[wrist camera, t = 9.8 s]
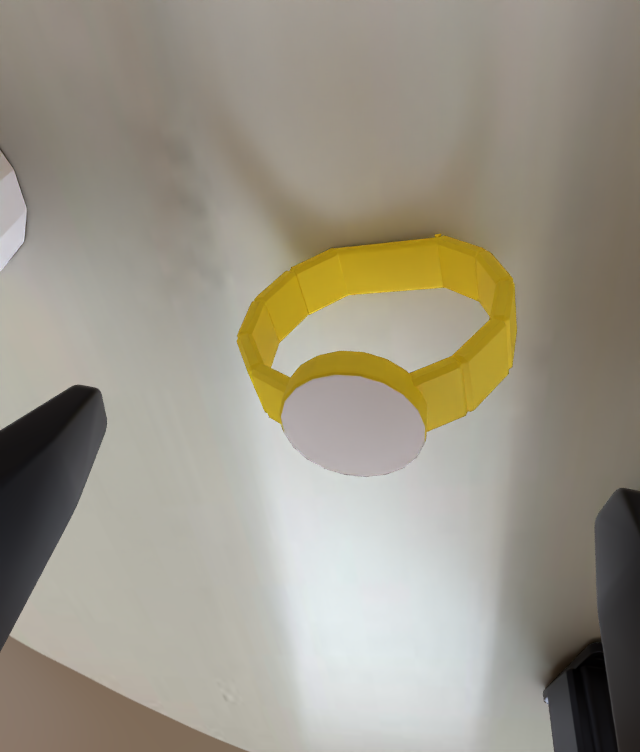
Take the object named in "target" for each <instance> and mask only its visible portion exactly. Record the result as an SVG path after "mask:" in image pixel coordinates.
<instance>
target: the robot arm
mask: <svg viewBox="0 0 640 752" xmlns="http://www.w3.org/2000/svg"><path fill="white" fill-rule="evenodd" d="M106 427H107V417H106V413H105V408H104V403H103V399H102V394H101V392H100V390H99V389H97V388H95V387H89V386H84V385H74V386H72V387H70V388H68V389H67V390H65V391H63V392H62V393H60V394H59V395H57V396H55V397H54V398H52V399H50V400H49V401H47V402H46V403H44V404H42V405H41V406H39V407H37V408H36V409H34V410H33V411H31V412H29V413H28V414H26V415H25V416H23V417H21V418H20V419H18V420H16V421H15V422H13V423H12V424H10V425H8V426H7V427H5V428H3V429H2V430H0V651H1V649H2V647H3V646H4V644H5V642H6V640H7V638H8V636H9V634H10V632H11V631H12V629H13V627H14V625H15V623H16V621H17V619H18V617H19V615H20V613H21V612H22V610H23V608H24V606H25V604H26V602H27V600H28V598H29V596H30V594H31V593H32V591H33V589H34V587H35V585H36V583H37V581H38V579H39V577H40V576H41V574H42V572H43V570H44V568H45V566H46V564H47V562H48V560H49V558H50V557H51V555H52V553H53V551H54V549H55V547H56V545H57V543H58V541H59V539H60V538H61V536H62V534H63V532H64V530H65V528H66V526H67V524H68V522H69V520H70V518H71V516H72V514H73V512H74V510H75V508H76V506H77V504H78V501H79V499H80V497H81V494H82V492H83V489H84V486H85V484H86V481H87V479H88V476H89V473H90V471H91V468H92V466H93V463H94V460H95V458H96V455H97V453H98V450H99V448H100V445H101V442H102V440H103V437H104V435H105V432H106ZM595 556H596V587H597V608H598V618H599V626H600V632H601V639H602V643H592V644H590V645H588V646H587V647H586V648H585V649H584V650H583V651H582V652H581V653H580V654H579V655H578V656H577V657H576V658H575V659H574V660H573V661H572V662H571V664H570V665H569V666H568V667H567V668H566V669H565V670H564V671H563V672H562V673H561V674H560V675H559V676H558V677H557V678H556V679H555V680H554V681H553V682H552V683H551V684H550V685H549V686H548V687H547V688H546V689H545V690H544V691H543V697H544V702H545V703H547V704H549V712H550V721H551V729H552V737H553V746H554V752H640V491H637V490H632V489H626V488H619V489H617V490H616V491H615V492H614V493H613V494H612V496H611V497H610V498H609V500H608V501H607V502H606V504H605V505H604V506H603V508H602V509H601V510H600V512H599V513H598V515H597V517H596V521H595Z"/></svg>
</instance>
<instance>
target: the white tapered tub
mask: <svg viewBox="0 0 640 752" xmlns="http://www.w3.org/2000/svg"><path fill="white" fill-rule="evenodd" d="M26 215H27V208H26V205H25V202H24V199H23V196H22V193H21V190H20V187H19V184H18V181H17V178H16V175H15V172H14V169H13V168H12V166H11V165H10V163H9V162H8V161H7V159H6V158H5V156H4V155H3V153H2V152H1V151H0V271H1V270H2V269H3V268H4V266H5V265H6V264H7V263H8V261H9V260H10V259H11V258H12V256H13V255H14V254H15V253H16V251H17V250H18V249H19V247H20V246H21V245H22V244H23V242H24V238H25V226H26Z"/></svg>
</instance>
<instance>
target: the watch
mask: <svg viewBox="0 0 640 752" xmlns="http://www.w3.org/2000/svg"><path fill="white" fill-rule="evenodd" d="M434 236H435V237H434V238H425V239H415V240H406V241H397V242H388V243H378V244H369V245H360V246H351V247H341V248H331V249H329V250H327V251H324V252H322V253H320V254H318V255H316V256H314V257H312V258H310V259H308V260H306V261H304V262H301V263H299V264H297V265H295V266H293V267H291V269H290V271H285V272H284V273H283V274H282V275H281V276H279V277H278V278H277V279H276V280H275V281H274V282H273V283H271V284H270V285H269V286H268V287H267V288H266V289H265V290H264V291H262V292H261V293H260V294H259V295H258V296H257V297H256V298H255V299H254V301H252V303H251V305H250V307H249V309H248V311H247V314H246V316H245V318H244V321H243V323H242V325H241V328H240V330H239V332H238V335H237V337H238V339H237V344H238V347H239V349H240V352H241V355H242V358H243V360H244V363H245V366H246V369H247V371H248V374H249V376H250V378H251V381H252V383H253V385H254V388H255V390H256V392H257V395H258V397H259V399H260V402H261V404H262V406H263V409H264V411H265V412H266V413H268V415H269V417H270V418H272V419H273V420H275V421H277V422H278V423H280V424H281V425H282V429H283V431H284V433H285V435H286V436H287V438H288V439H289V441H290V443H291V444H292V446H293V447H294V448H295V449H296V450H297V451H298V452H300V453H301V454H302V455H303V456H304V457H305V458H306V459H308V460H310V461H311V462H313V463H315V464H317V465H319V466H321V467H323V468H325V469H327V470H331V471H334V472H338V473H341V474H344V475H353V476H363V477H369V476H377V475H386V474H389V473H391V472H394V471H397V470H399V469H402V468H404V467H405V466H407V465H408V464H409V463H411V462H412V461H413V460H414V459H416V458H417V456H418V455H419V453H420V451H421V449H422V447H423V445H424V443H425V441H426V433H427V432H428V431H430V430H433V429H435V428H437V427H440V426H442V425H445V424H447V423H449V422H452V421H454V420H456V419H459V418H461V417H464V416H466V414H467V412H468V411H470V412H471V411H473V410H475V409H476V408H477V407H478V405H479V404H480V403H481V402H482V401H483V400H484V399H485V398H486V397H487V396H488V395H489V394H490V393H491V392H492V391H493V390H494V389H495V388H496V387H497V386H498V384H499V383H500V382H501V381H502V380H503V379H504V378H505V377H506V376H507V375H508V374H509V369H510V368H511V367H512V365H513V358H514V350H515V342H516V334H517V322H516V302H515V284H514V283H513V278H512V277H511V276H510V274H509V273H508V272H507V271H506V270H505V268H504V267H503V266H502V265H501V264H500V263H499V261H498V260H497V259H496V258H495V257H494V256H493V254H492V253H490V252H489V251H486V249H484V248H482V247H479V246H475V245H472V244H469V243H466V242H463V241H460V240H457V239H454V238H451V237H448V236H445V235H444V236H442V237H441V233H440V234H434ZM433 288H447V289H450V290H452V291H454V292H457V293H459V294H462V295H464V296H466V297H469V298H471V299H474V300H476V301H478V302H480V304H481V305H482V307H483V308H484V309H485V311H486V312H487V314H488V315H489V316H490V319H489V321H488V322H487V323H486V324H485V325H484V326H482V327H481V328H480V329H479V330H478V331H477V332H476V333H475V334H474V335H473V336H472V337H471V338H470V339H469V340H468V341H467V342H466V343H465V344H464V345H463V346H462V347H461V348H459V349H458V350H457V351H456V352H455V353H454V354H453V355H452V356H450V357H448V358H445V359H443V360H441V361H438V362H436V363H433V364H431V365H428V366H426V367H423V368H421V369H419V370H416V371H414V372H411V373H408V372H407V371H406V370H404V369H403V368H401V367H399V366H398V365H396V364H394V363H393V362H391V361H389V360H387V359H385V358H382V357H379V356H375V355H372V354H369V353H365V352H353V351H337V352H332V353H327V354H322V355H319V356H316V357H314V358H312V359H311V360H309V361H307V362H305V363H304V364H302V365H301V366H300V367H299V368H298V369H297V370H296V371H295V373H294V374H293V375H292V376H291V378H290V377H288V376H286V375H284V374H282V373H280V372H278V371H276V370H274V369H272V368H271V366H272V363H273V360H274V357H275V354H276V351H277V348H278V345H279V343H280V342H281V341H282V340H283V339H284V338H285V337H286V336H287V335H288V334H289V333H290V332H291V331H292V330H293V329H294V328H295V327H296V326H297V325H298V324H299V323H300V322H301V321H303V320H304V319H305V318H306V317H307V315H310V314H312V313H314V312H316V311H318V310H320V309H322V308H324V307H326V306H328V305H330V304H332V303H334V302H336V301H338V300H340V299H342V298H344V297H346V296H348V295H356V294H369V293H382V292H395V291H407V290H420V289H433Z"/></svg>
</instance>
